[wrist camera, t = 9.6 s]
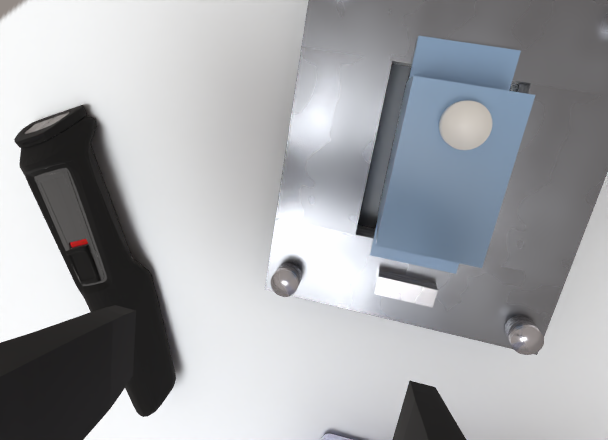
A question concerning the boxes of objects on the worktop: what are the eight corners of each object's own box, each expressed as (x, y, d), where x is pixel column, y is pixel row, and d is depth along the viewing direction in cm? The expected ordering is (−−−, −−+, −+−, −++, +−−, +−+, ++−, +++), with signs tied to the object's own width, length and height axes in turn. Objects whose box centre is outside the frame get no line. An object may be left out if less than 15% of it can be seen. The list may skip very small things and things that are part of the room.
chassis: (526, 335, 20) (545, 368, 17) (273, 276, 21) (258, 299, 19) (650, -1, 15) (699, -19, 13) (323, -44, 17) (312, -68, 15)
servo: (449, 256, 19) (472, 317, 14) (371, 240, 20) (365, 292, 14) (505, 55, 17) (560, 36, 11) (415, 42, 17) (427, 17, 12)
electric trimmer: (143, 383, 25) (110, 423, 22) (33, 122, 22) (-23, 127, 19) (200, 376, 24) (174, 416, 21) (96, 101, 21) (47, 103, 18)
